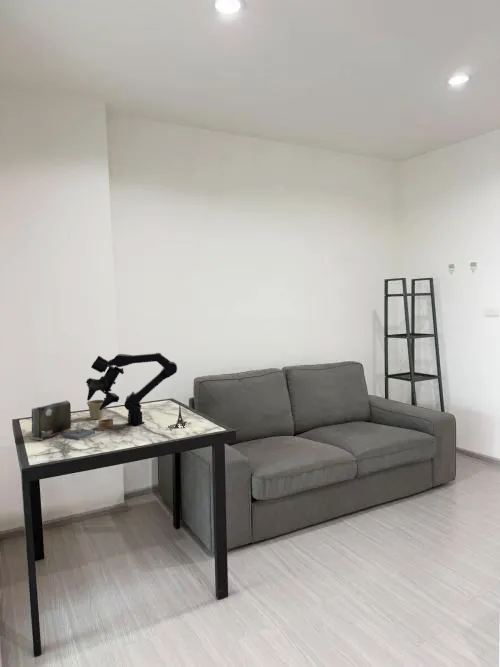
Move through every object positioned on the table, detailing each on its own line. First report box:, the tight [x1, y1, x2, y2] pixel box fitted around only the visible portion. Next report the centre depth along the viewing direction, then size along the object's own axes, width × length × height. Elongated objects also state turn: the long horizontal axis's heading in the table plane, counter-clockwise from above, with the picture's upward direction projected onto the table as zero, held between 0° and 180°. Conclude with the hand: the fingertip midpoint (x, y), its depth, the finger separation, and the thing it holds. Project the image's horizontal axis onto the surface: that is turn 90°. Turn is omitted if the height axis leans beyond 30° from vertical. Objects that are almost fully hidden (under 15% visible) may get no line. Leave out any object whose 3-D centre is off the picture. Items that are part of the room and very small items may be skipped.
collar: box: [98, 418, 114, 431], centre depth 230 cm, size 7×7×4 cm
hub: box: [62, 422, 96, 440], centre depth 219 cm, size 10×10×5 cm
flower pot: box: [86, 399, 105, 420], centre depth 249 cm, size 9×9×9 cm
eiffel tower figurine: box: [165, 402, 187, 429], centre depth 232 cm, size 15×10×13 cm
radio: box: [29, 399, 73, 441], centre depth 221 cm, size 23×9×15 cm, turn 155°
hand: (93, 405), depth 233 cm, fingers open, 9 cm apart
